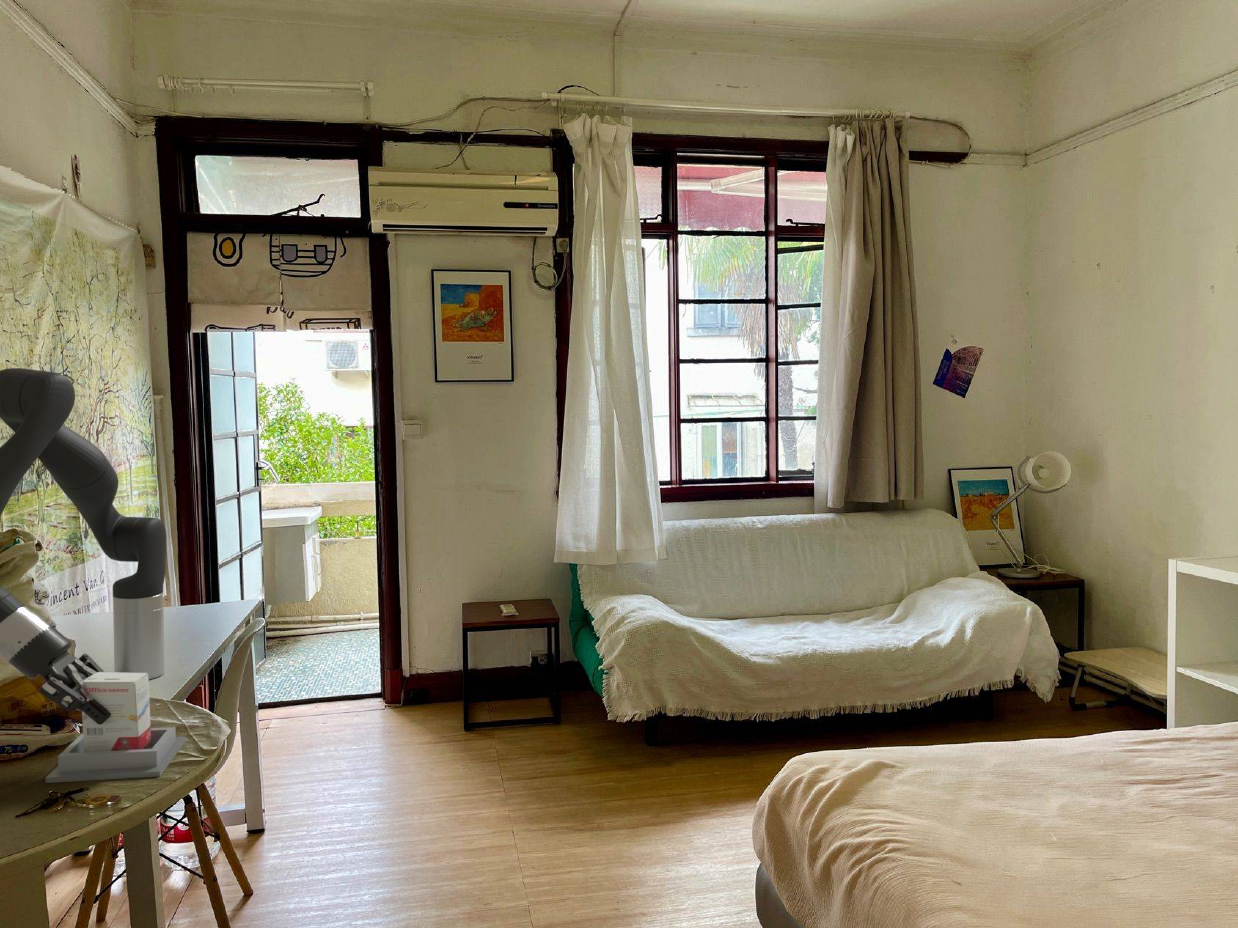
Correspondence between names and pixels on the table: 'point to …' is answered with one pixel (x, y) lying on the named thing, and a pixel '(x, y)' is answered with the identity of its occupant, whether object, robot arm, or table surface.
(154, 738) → the tray
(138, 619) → the robot arm
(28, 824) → the table surface
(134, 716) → the ink box
